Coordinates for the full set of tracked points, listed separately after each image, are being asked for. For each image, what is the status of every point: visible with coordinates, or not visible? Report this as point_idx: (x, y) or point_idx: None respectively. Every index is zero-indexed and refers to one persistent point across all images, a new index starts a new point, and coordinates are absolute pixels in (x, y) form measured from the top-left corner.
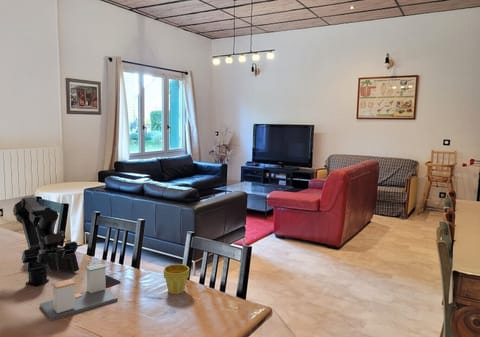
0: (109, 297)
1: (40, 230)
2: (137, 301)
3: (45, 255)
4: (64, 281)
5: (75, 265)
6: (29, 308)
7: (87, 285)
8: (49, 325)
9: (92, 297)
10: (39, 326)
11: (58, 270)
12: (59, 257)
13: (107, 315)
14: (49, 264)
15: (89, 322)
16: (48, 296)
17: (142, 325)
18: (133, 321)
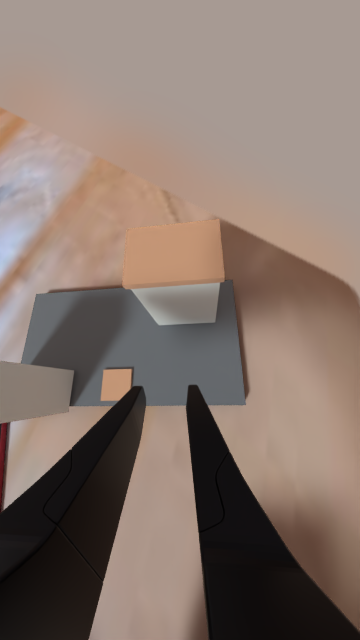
0: (50, 308)
1: None
2: (14, 266)
3: (302, 638)
4: (162, 266)
5: None
6: (280, 415)
7: (54, 405)
8: (240, 262)
9: (85, 339)
10: (265, 271)
11: (143, 403)
12: (42, 506)
13: (106, 239)
14: (210, 440)
15: None
16: None
17: (78, 172)
18: (81, 191)
